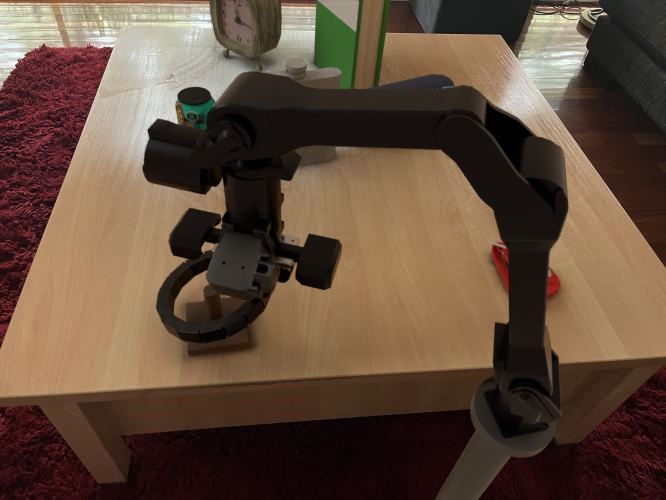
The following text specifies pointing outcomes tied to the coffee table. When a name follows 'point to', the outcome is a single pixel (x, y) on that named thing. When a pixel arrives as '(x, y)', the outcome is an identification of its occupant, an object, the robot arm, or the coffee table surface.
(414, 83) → the portable speaker
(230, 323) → the ring
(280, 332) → the coffee table surface
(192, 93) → the beverage can
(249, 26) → the tabletop clock
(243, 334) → the post
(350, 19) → the hardback book
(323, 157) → the hip flask
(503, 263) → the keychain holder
